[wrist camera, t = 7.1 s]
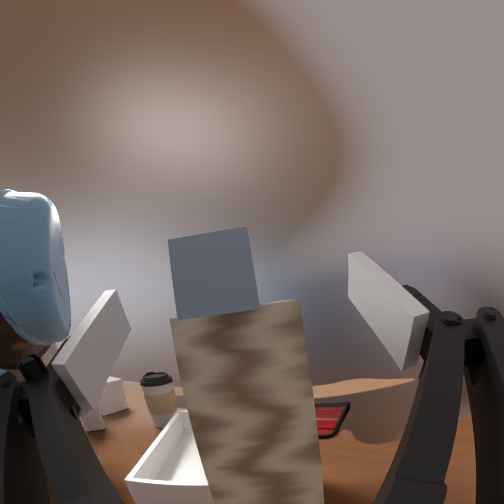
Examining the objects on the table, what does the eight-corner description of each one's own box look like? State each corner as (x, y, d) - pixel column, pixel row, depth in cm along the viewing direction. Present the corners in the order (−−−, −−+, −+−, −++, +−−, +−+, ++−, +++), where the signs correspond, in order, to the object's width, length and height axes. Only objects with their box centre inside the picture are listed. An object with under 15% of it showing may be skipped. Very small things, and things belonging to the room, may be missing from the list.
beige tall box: (233, 549, 17) (169, 318, 23) (238, 488, 32) (201, 312, 38) (326, 536, 18) (298, 299, 23) (307, 478, 32) (281, 300, 38)
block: (177, 320, 13) (168, 240, 14) (227, 309, 39) (222, 280, 39) (260, 308, 13) (246, 226, 14) (255, 304, 39) (251, 276, 39)
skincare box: (104, 424, 59) (93, 386, 62) (105, 430, 56) (94, 390, 58) (85, 427, 56) (74, 388, 58) (85, 432, 52) (73, 392, 54)
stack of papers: (68, 398, 82) (62, 373, 84) (89, 393, 91) (83, 369, 93) (103, 416, 67) (94, 385, 69) (128, 408, 76) (121, 379, 78)
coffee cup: (188, 422, 64) (177, 371, 66) (161, 432, 57) (147, 379, 60) (171, 415, 69) (160, 368, 72) (145, 423, 63) (133, 374, 65)
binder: (274, 402, 68) (350, 400, 58) (275, 409, 68) (350, 408, 58) (243, 429, 54) (333, 434, 44) (245, 437, 54) (334, 443, 44)
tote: (136, 506, 25) (124, 479, 26) (182, 430, 58) (177, 410, 59) (225, 512, 26) (216, 485, 27) (237, 427, 58) (233, 406, 59)
